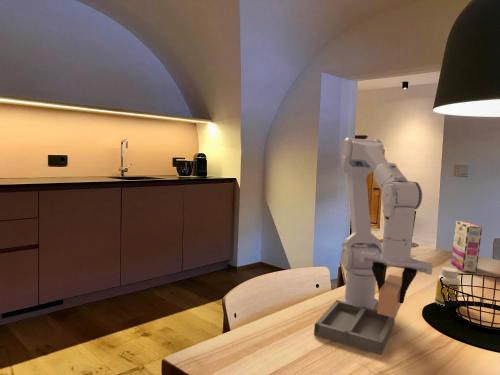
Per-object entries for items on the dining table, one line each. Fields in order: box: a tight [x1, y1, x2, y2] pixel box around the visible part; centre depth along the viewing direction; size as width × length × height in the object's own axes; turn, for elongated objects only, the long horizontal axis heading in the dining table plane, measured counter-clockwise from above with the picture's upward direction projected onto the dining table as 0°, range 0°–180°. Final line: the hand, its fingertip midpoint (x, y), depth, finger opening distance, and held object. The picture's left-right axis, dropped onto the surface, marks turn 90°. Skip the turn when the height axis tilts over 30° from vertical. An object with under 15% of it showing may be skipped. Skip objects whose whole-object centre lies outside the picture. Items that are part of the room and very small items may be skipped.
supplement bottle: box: [434, 266, 461, 307], centre depth 104 cm, size 5×5×10 cm
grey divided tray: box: [313, 299, 396, 356], centre depth 86 cm, size 16×14×2 cm
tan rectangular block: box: [376, 274, 402, 319], centre depth 83 cm, size 12×4×5 cm, turn 151°
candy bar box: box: [450, 220, 483, 273], centre depth 139 cm, size 11×5×16 cm, turn 172°
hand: (391, 299), depth 83 cm, fingers closed on tan rectangular block, 3 cm apart
